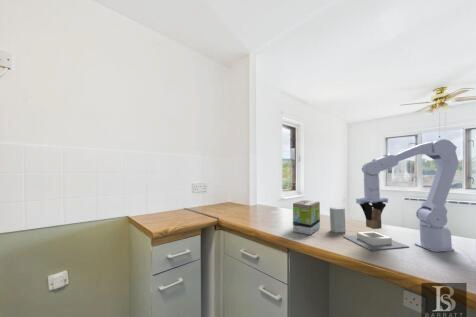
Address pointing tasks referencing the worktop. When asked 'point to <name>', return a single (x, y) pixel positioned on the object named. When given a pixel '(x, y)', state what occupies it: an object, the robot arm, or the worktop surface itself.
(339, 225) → the skincare box
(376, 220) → the walnut peg
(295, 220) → the tea box
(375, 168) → the robot arm
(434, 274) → the worktop surface
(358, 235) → the socket board
